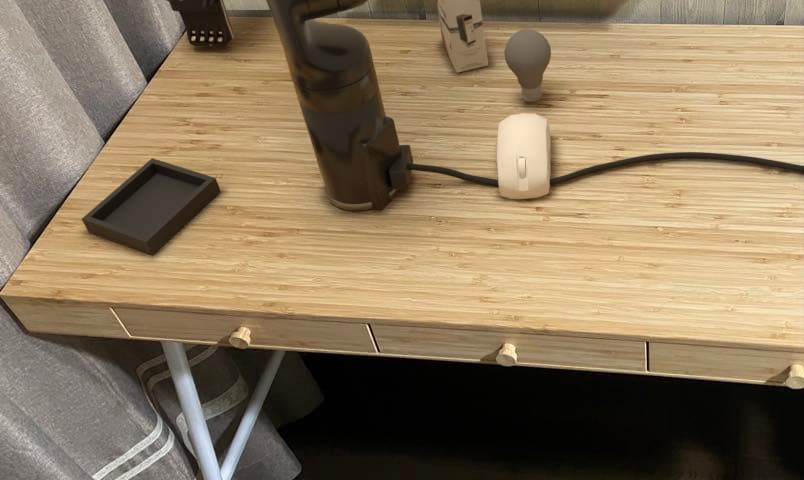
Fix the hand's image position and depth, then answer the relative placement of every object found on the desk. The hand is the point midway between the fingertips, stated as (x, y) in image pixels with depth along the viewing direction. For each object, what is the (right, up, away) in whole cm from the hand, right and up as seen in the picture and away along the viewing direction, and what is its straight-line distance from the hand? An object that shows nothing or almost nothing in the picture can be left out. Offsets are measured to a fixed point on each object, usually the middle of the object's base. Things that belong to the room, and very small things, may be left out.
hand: (187, 5), depth 143 cm
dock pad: (+2, -31, -18) cm, 36 cm away
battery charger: (+1, -4, +6) cm, 7 cm away
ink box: (+39, -7, 0) cm, 40 cm away
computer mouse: (+48, -26, -18) cm, 58 cm away
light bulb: (+49, -15, -8) cm, 52 cm away
